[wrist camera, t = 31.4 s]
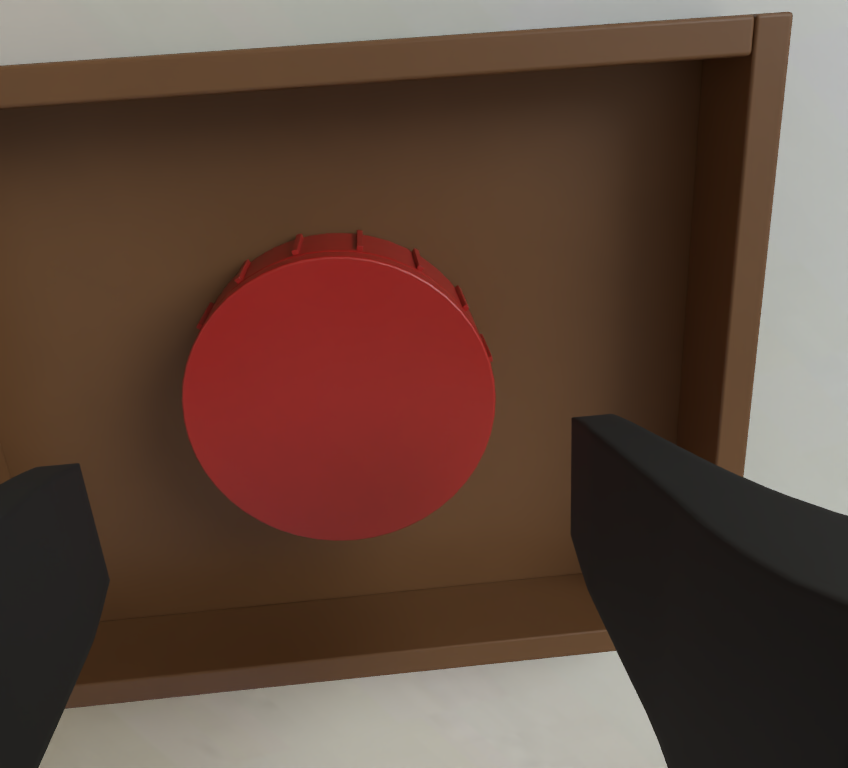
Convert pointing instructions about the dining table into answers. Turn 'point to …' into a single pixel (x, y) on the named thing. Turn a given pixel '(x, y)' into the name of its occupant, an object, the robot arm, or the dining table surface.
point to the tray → (437, 243)
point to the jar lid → (339, 388)
